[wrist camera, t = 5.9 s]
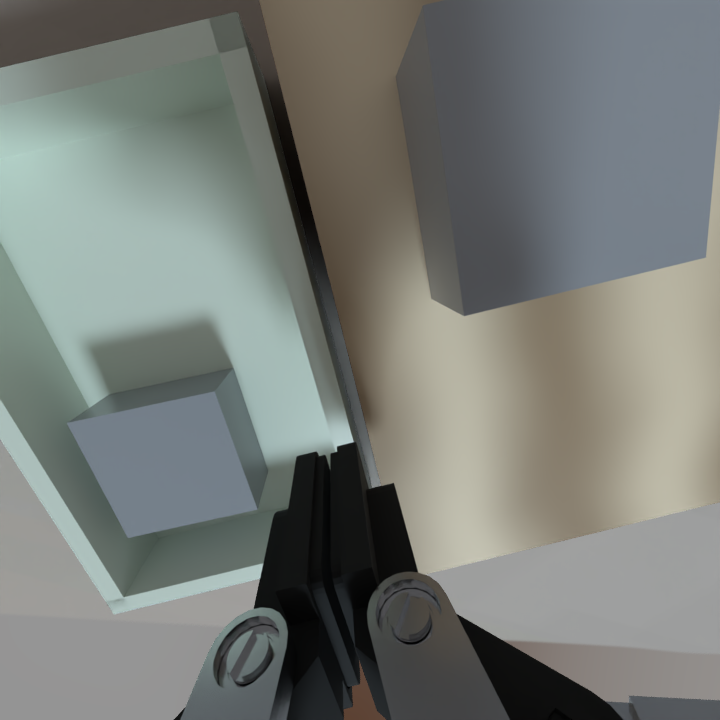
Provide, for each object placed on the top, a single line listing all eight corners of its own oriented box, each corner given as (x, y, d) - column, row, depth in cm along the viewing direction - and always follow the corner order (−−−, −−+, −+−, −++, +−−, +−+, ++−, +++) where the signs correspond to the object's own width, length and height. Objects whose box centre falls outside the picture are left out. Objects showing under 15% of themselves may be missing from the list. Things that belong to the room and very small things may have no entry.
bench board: (632, -11, 12) (838, -185, 7) (623, 428, 17) (735, 498, 12) (281, 74, 12) (247, -44, 7) (384, 486, 17) (404, 579, 12)
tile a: (66, 422, 12) (109, 393, 14) (127, 538, 13) (157, 495, 16) (214, 391, 12) (233, 367, 14) (257, 509, 13) (268, 471, 16)
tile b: (616, 23, 8) (735, -70, 5) (613, 255, 9) (705, 257, 7) (395, 76, 8) (422, 4, 5) (431, 298, 9) (464, 316, 7)
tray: (263, 78, 12) (237, 11, 8) (372, 489, 17) (382, 548, 14) (-54, 154, 12) (-209, 117, 8) (156, 542, 17) (113, 614, 14)
